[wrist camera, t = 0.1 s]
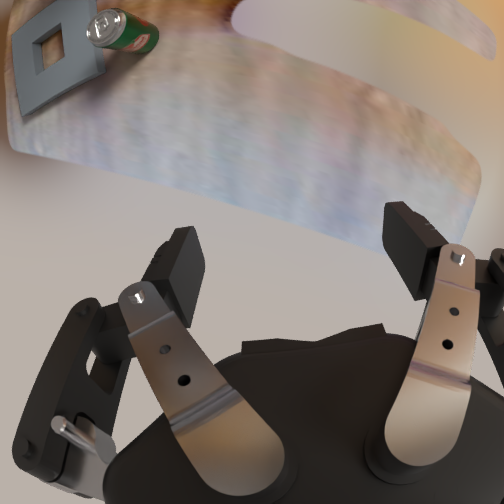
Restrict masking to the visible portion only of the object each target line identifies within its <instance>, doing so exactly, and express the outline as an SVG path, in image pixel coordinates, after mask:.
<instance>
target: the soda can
mask: <svg viewBox="0 0 504 504" xmlns="http://www.w3.org/2000/svg"><path fill="white" fill-rule="evenodd" d="M86 35H87V38H88V40H89V41H90V42H91V43H92V45H94V46H95V47H98V48H106V49H112V50H119V51H124V52H130V53H135V54H143V53H146V52H148V51H150V50H151V49H152V48H153V47H154V46H155V45H156V44H157V42H158V39H159V31H158V28H157V27H156V26H155V25H153V24H151V23H149V22H147V21H145V20H143V19H141V18H139V17H137V16H135V15H132V14H130V13H128V12H126V11H123V10H121V9H118V8H111V9H107V10H103V11H100V12H99V13H97V14H96V15H95V16H94V17H93V18H92V19H91V20H90V22H89V24H88V26H87V30H86Z"/></svg>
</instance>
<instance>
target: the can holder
mask: <svg viewBox="0 0 504 504" xmlns="http://www.w3.org/2000/svg"><path fill="white" fill-rule="evenodd" d="M96 14H97V5H96V0H56V1H55V2H53V3H52V4H50V5H49V6H48V7H46V8H45V9H43V10H42V11H41V12H39V13H38V14H37V15H35V16H34V17H33V18H32V19H30V20H29V21H28V22H27V23H25V24H24V25H23V26H22V27H21V28H19V29H18V30H17V31H16V32H15V33H14V34H13V35H12V52H13V64H14V73H15V81H16V88H17V94H18V100H19V105H20V110H21V115H22V117H23V116H27V115H30V114H32V113H33V112H35V111H36V110H38V109H39V108H41V107H43V106H44V105H46V104H47V103H49V102H51V101H52V100H54V99H56V98H57V97H59V96H61V95H63V94H64V93H66V92H68V91H70V90H72V89H73V88H75V87H77V86H79V85H81V84H83V83H85V82H87V81H89V80H91V79H93V78H95V77H97V76H99V75H102V74H104V73H106V68H105V63H104V57H103V51H102V48H98V47H95V46H94V45H92V43H91V42H90V41H89V40H88V38H87V35H86V30H87V26H88V24H89V22H90V20H91V19H92V18H93V17H94V16H95V15H96ZM61 29H62V37H63V46H64V54H65V57H64V58H62V59H61V60H59V61H57V62H56V63H54V64H53V65H51V66H50V67H48V68H47V69H45V70H44V66H43V58H42V49H41V43H42V42H43V41H44V40H46V39H47V38H49V37H50V36H51V35H53V34H54V33H56V32H57V31H59V30H61Z"/></svg>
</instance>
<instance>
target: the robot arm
mask: <svg viewBox="0 0 504 504" xmlns="http://www.w3.org/2000/svg"><path fill="white" fill-rule="evenodd" d="M382 241H383V246H384V249H385V251H386V252H387V254H388V256H389V257H390V259H391V260H392V262H393V264H394V265H395V267H396V269H397V270H398V272H399V274H400V275H401V277H402V279H403V281H404V282H405V284H406V286H407V288H408V290H409V291H410V293H411V295H412V297H413V299H414V300H415V301H417V300H422V299H426V300H427V303H426V306H425V309H424V312H423V316H422V319H421V322H420V325H419V328H418V331H417V334H416V337H415V340H413V339H411V338H408V337H406V336H402V335H398V334H389V333H386V332H385V329H384V327H383V324H382V323H381V324H375V325H370V326H364V327H358V328H353V329H348V330H346V331H343V332H341V333H338V334H336V335H333V336H330V337H327V338H325V339H322V340H319V341H315V342H312V341H298V340H288V339H278V338H277V339H266V340H254V341H243V342H242V349H241V352H239V353H236V354H234V355H231V356H228V357H227V358H225V359H223V360H221V361H219V362H218V363H216V364H214V365H213V364H212V362H211V361H210V360H209V359H208V357H207V356H206V355H205V353H204V352H203V351H202V350H201V348H200V347H199V345H198V344H197V343H196V341H195V340H194V339H193V337H192V336H191V335H190V334H189V332H188V331H187V329H186V328H190V327H191V323H192V319H193V314H194V311H195V307H196V303H197V298H198V295H199V291H200V287H201V284H202V280H203V276H204V272H205V260H204V256H203V253H202V249H201V246H200V243H199V240H198V236H197V233H196V230H195V228H194V226H188V227H182V228H176V229H175V230H174V232H173V234H172V236H171V238H170V240H169V241H166V242H165V243H164V244H162V245H161V246H160V247H159V248H158V250H157V251H156V253H155V255H154V258H152V260H151V264H150V265H149V266H148V268H147V270H146V272H145V274H144V276H143V278H142V279H141V281H140V282H137V283H134V284H132V285H130V286H128V287H127V288H126V289H124V290H123V292H122V293H121V294H120V296H119V298H118V302H117V303H114V304H111V305H108V306H105V307H101V305H100V303H99V302H98V300H97V299H96V298H86V299H84V300H81V301H80V302H78V303H77V304H76V305H75V306H74V307H73V308H72V309H71V310H70V312H69V314H68V316H67V317H66V319H65V321H64V323H63V325H62V327H61V328H60V330H59V332H58V334H57V336H56V338H55V340H54V342H53V344H52V346H51V348H50V350H49V352H48V354H47V356H46V359H45V361H44V363H43V365H42V367H41V370H40V372H39V374H38V376H37V378H36V381H35V383H34V385H33V388H32V390H31V393H30V395H29V398H28V401H27V403H26V406H25V408H24V411H23V414H22V417H21V420H20V423H19V426H18V428H17V432H16V435H15V438H14V441H13V446H12V455H13V459H14V462H15V463H16V465H17V466H18V467H19V468H20V469H22V470H23V471H25V472H28V473H29V474H31V475H33V476H35V477H37V478H39V479H40V480H41V481H43V482H45V483H47V484H49V485H51V486H54V487H56V488H58V489H60V490H63V491H65V492H68V493H73V494H76V495H78V496H81V497H84V498H96V499H99V500H103V501H105V504H504V397H503V396H501V395H500V394H498V393H497V392H495V391H494V390H492V389H490V388H489V387H488V386H486V385H484V384H483V383H481V382H480V381H478V380H477V379H475V378H474V377H472V376H471V375H470V373H471V367H472V362H473V356H474V350H475V343H476V336H477V329H478V331H479V333H480V334H481V337H482V339H483V341H484V343H485V345H486V347H487V349H488V351H489V354H490V356H491V358H492V360H493V363H494V365H495V367H496V370H497V372H498V375H499V377H500V380H501V382H502V385H503V388H504V311H503V309H502V308H503V306H504V249H501V248H497V249H494V250H493V251H492V253H491V256H490V259H489V260H479V259H475V256H474V254H473V253H472V252H471V251H470V250H469V249H467V248H466V247H464V246H462V245H459V244H449V243H448V242H447V241H446V239H445V238H444V237H443V236H442V235H441V234H440V233H439V232H438V231H437V230H435V228H434V226H433V225H432V224H430V222H429V221H428V220H427V219H426V218H425V217H424V216H422V215H420V214H418V213H416V212H415V211H414V212H413V211H412V210H411V209H410V208H409V207H408V206H407V205H406V204H405V203H404V202H403V201H399V202H387V203H386V204H385V207H384V220H383V233H382ZM91 350H92V351H93V353H94V354H95V355H96V359H95V361H94V364H93V367H92V370H91V372H90V375H88V373H87V370H86V362H87V359H88V357H89V354H90V352H91ZM133 357H137V359H138V361H139V363H140V365H141V367H142V370H143V372H144V374H145V376H146V378H147V380H148V382H149V384H150V386H151V388H152V390H153V392H154V394H155V396H156V398H157V400H158V402H159V404H160V406H161V407H162V409H163V411H164V413H162V414H161V415H160V416H159V417H158V418H157V419H156V420H155V421H154V422H153V423H152V424H151V425H150V426H148V427H147V428H146V429H145V430H144V431H143V432H142V433H141V434H140V435H139V436H137V438H135V439H134V440H133V441H132V442H131V443H130V444H128V445H127V446H126V447H125V448H124V449H123V450H122V451H121V452H119V453H118V454H117V453H116V446H115V443H114V441H113V439H112V438H111V436H112V432H113V427H114V423H115V419H116V414H117V410H118V406H119V402H120V398H121V394H122V390H123V387H124V383H125V379H126V376H127V372H128V369H129V365H130V362H131V358H133Z"/></svg>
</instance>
